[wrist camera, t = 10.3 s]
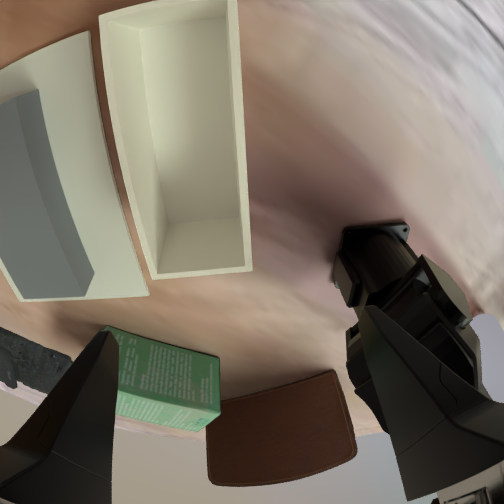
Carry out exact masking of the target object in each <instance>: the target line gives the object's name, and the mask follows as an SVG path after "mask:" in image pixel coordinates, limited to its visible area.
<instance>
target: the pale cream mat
mask: <svg viewBox="0 0 504 504" xmlns="http://www.w3.org/2000/svg"><path fill="white" fill-rule="evenodd" d="M38 89H39V94H40V100H41V105H42V110H43V115H44V120H45V125H46V129H47V134H48V138H49V142H50V146H51V150H52V154H53V158H54V161H55V165H56V168H57V172H58V175H59V179H60V182H61V185H62V188H63V191H64V195H65V198H66V201H67V204H68V207H69V209H70V212H71V215H72V218H73V221H74V223H75V226H76V229H77V231H78V234H79V237H80V239H81V242H82V244H83V247H84V249H85V251H86V254H87V256H88V259H89V261H90V263H91V266H92V268H93V270H94V272H95V274H94V276H93V278H92V281H91V283H90V286H89V288H88V290H87V293H86V295H85V297H65V298H43V299H24V298H23V297H22V295H21V294H20V292H19V290H18V289H17V287H16V285H15V283H14V282H13V280H12V278H11V277H10V275H9V273H8V271H7V269H6V267H5V266H4V264H3V262H2V260H1V258H0V268H1V270H2V272H3V274H4V276H5V277H6V279H7V281H8V283H9V284H10V286H11V288H12V289H13V291H14V293H15V294H16V296H17V297H18V299H19V301H20V302H35V301H64V300H87V299H106V298H124V297H140V296H149V293H150V292H149V290H148V287H147V284H146V281H145V278H144V276H143V273H142V270H141V267H140V264H139V261H138V258H137V255H136V252H135V249H134V245H133V242H132V239H131V236H130V232H129V229H128V226H127V222H126V219H125V215H124V212H123V208H122V205H121V201H120V197H119V194H118V190H117V186H116V182H115V178H114V174H113V169H112V165H111V161H110V156H109V152H108V147H107V143H106V138H105V133H104V128H103V122H102V117H101V111H100V105H99V99H98V93H97V86H96V79H95V72H94V64H93V55H92V45H91V33H90V31H85V32H82V33H79V34H76V35H74V36H71V37H69V38H66V39H63V40H61V41H59V42H56V43H54V44H51V45H49V46H47V47H45V48H42V49H40V50H38V51H36V52H34V53H32V54H30V55H28V56H26V57H24V58H22V59H20V60H18V61H16V62H14V63H12V64H10V65H8V66H7V67H5V68H3V69H1V70H0V105H1V104H3V103H5V102H6V101H8V100H10V99H12V98H15V97H17V96H20V95H23V94H26V93H29V92H32V91H35V90H38Z"/></svg>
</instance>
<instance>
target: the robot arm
mask: <svg viewBox="0 0 504 504" xmlns="http://www.w3.org/2000/svg"><path fill="white" fill-rule="evenodd" d="M404 228H405V229H404ZM403 229H404V230H403ZM409 230H410V227H409V225H408V224H407V223H391V224H377V225H364V226H351V227H346V228H344V229H343V231H342V235H341V242H340V249H339V251H338V252H337V254H336V260H335V267H334V273H333V275H334V278H335V279H334V285H335V287H336V288H337V289H340V291H341V294H342V296H343V298H344V301H345V303H346V305H347V306H348V307H349V308H351V307H353V308H354V310H355V313H356V315H357V317H358V319H359V321H358V322H357V323H356V324H355V325H354V326H353V327H350V328H349V329H348V330H347V331H346V349H347V362H346V367H347V370H348V375H349V378H350V380H351V382H352V384H353V385H354V387H355V388H356V389H355V390H354V392H355V394H356V395H358V396H359V397H360V398H361V399H362V400H363V401H364V402H365V403H366V404H367V405H368V406H369V408H370V409H371V410H372V412H373V413H374V415H375V417H376V418H377V420H378V422H379V424H380V426H381V428H382V429H383V430H384V431H385V432H386V433H388V434H389V435H390V437H391V441H392V445H393V448H394V451H395V455H396V459H397V463H398V467H399V471H400V475H401V479H402V483H403V486H404V491H405V495H406V499H407V501H411V500H414V499H417V498H420V497H423V496H426V495H429V494H432V493H435V492H437V495H438V497H437V498H436V499H433V501H432V503H431V504H504V403H499V402H496V401H493V400H492V398H491V397H490V395H489V394H488V392H487V391H486V389H485V387H484V386H483V384H482V367H481V350H480V340H479V338H478V336H477V335H476V334H475V332H474V330H473V329H472V327H471V326H470V325H469V323H470V322H471V321H472V320H473V318H472V315H471V312H470V309H469V306H468V303H467V300H466V297H465V294H464V292H463V291H462V290H461V288H460V287H459V286H458V285H457V284H456V282H455V281H454V280H453V279H452V277H451V276H450V275H449V274H448V273H447V272H445V271H444V270H443V269H442V268H440V267H439V266H438V265H436V264H435V263H434V262H432V261H431V260H430V259H429V258H427V257H426V256H425V255H423V254H422V255H421V256H420V257H419V258H418V257H417V256H416V254H415V253H414V252H413V250H412V249H411V248H410V246H409V245H408V244H407V243H406V241H407V237H408V234H409ZM348 232H350V233H349V234H347V233H348ZM118 383H119V344H118V342H117V340H116V339H115V337H114V335H113V333H112V332H111V331H110V330H100V331H99V332H98V333H97V334H96V335H95V336H94V338H93V339H92V340H91V341H90V342H89V344H88V345H87V346H86V347H85V348H84V350H83V351H82V352H81V353H80V355H79V356H78V357H77V358H76V359H75V361H74V362H73V363H72V364H71V366H70V367H69V368H68V369H67V371H66V372H65V373H64V374H63V376H62V377H61V378H60V380H59V381H58V382H57V383H56V385H55V386H54V387H53V389H52V390H51V391H50V393H49V394H48V395H47V397H46V398H45V399H44V400H43V402H42V403H41V404H40V406H39V407H38V408H37V409H36V411H35V412H34V413H33V414H32V416H31V417H30V418H29V419H28V420H27V422H26V423H25V424H24V425H23V426H22V427H21V428H20V429H19V431H18V432H17V433H16V434H15V435H14V436H13V437H12V438H11V440H9V441H8V442H7V443H6V444H4V445H2V446H0V504H112V497H111V496H112V492H111V491H112V488H111V487H112V483H111V481H112V453H113V452H112V451H113V436H114V424H115V413H116V403H117V394H118Z"/></svg>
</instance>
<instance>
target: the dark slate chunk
mask: <svg viewBox="0 0 504 504" xmlns="http://www.w3.org/2000/svg"><path fill="white" fill-rule="evenodd" d="M72 363H73V362H72V361H71V358H70V357H69V356H67V355H65V354H62V353H60V352H58V351H55V350H52V349H49V348H46V347H44V346H42V345H40V344H37V343H35V342H33V341H30V340H28V339H26V338H24V337H22V336H19V335H17V334H15V333H13V332H11V331H8V330H6V329H4V328H2V327H0V381H2V382H4V383H5V384H6V385H7V386H8V387H10V388H12V389H15V388H17V381H19V382H21V383H22V382H23V384H24V385H25V386H28V387H30V388H32V389H36V390H38V391H40V392H43V393H46V394H49V393H50V391H51V390H52V389H53V387H54V386H55V385H56V383H57V382H58V381H59V380H60V378H61V377H62V376H63V374H64V373H65V372H66V371H67V369H68V368H69V367H70V366H71V364H72Z"/></svg>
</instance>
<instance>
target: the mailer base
mask: <svg viewBox="0 0 504 504" xmlns="http://www.w3.org/2000/svg"><path fill="white" fill-rule="evenodd" d="M99 28H100V41H101V51H102V60H103V69H104V77H105V84H106V91H107V98H108V104H109V110H110V116H111V122H112V127H113V132H114V137H115V142H116V147H117V152H118V157H119V161H120V166H121V170H122V175H123V179H124V183H125V187H126V191H127V195H128V199H129V203H130V207H131V211H132V214H133V218H134V222H135V225H136V229H137V232H138V236H139V239H140V242H141V246H142V249H143V252H144V256H145V259H146V262H147V265H148V268H149V271H150V274H151V277H152V280H157V279H169V278H181V277H192V276H204V275H215V274H225V273H236V272H247V271H253V268H252V251H251V234H250V216H249V199H248V182H247V164H246V147H245V130H244V112H243V95H242V77H241V60H240V42H239V24H238V7H237V0H156V1H151V2H147V3H142V4H138V5H134V6H130V7H126V8H122V9H119V10H115V11H112V12H108V13H105V14H102V15H99Z"/></svg>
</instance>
